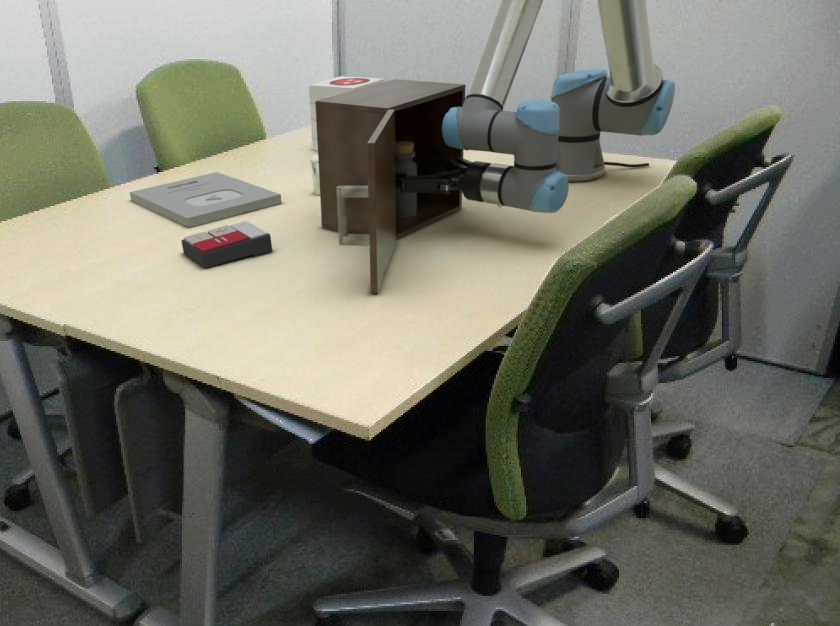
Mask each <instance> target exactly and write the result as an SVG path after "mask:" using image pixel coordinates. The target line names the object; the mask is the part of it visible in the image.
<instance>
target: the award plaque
mask: <svg viewBox="0 0 840 626" xmlns="http://www.w3.org/2000/svg"><path fill="white" fill-rule="evenodd" d="M129 197H130V201H131V202H133V203H135V204H137V205H139V206H141V207H144V208H146V209H148V210H150V211H152V212H154V213H156V214H159V215H161V216H163V217H165V218H167V219H169V220H171V221H174V222H175V223H178V224H180V225H182V226H184V227H186V228H192V227H196V226H201V225H204V224H207V223H211V222H216V221H220V220H223V219H227V218H231V217H234V216H239V215H242V214H246V213H250V212H254V211H257V210H262V209H265V208H268V207H273V206H277V205H280V204H282V194H281V193H278V192H275V191H272V190H270V189H267V188H264V187H261V186H258V185H255V184H252V183H249V182H247V181H244V180H241V179H238V178H235V177H232V176H230V175H227V174H224V173H221V172H219V171H216V172H211V173H207V174H202V175H198V176H194V177H188V178H185V179H180V180H176V181H171V182H167V183H163V184H159V185H155V186H151V187H145V188H141V189H137V190H132V191H130V192H129Z"/></svg>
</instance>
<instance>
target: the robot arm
mask: <svg viewBox="0 0 840 626" xmlns="http://www.w3.org/2000/svg"><path fill="white" fill-rule="evenodd" d="M543 2H544V0H500V2H499V5H498V8H497V11H496V14H495V16H494V19H493V21H492V24H491V28H490V30H489V33H488V35H487V38H486V40H485V43H484V46H483V49H482V52H481V55H480V58H479V61H478V63H477V66H476V69H475V71H474V74H473V77H472V79H471V82H470V85H469V87H468V91H467V93H466V95H465V101H464V103H463V106H462V107H453V108H451V109H450V110H449V111H448V113H446V115H445V117H444V119H443V123H442V136H443V140H444V142H445V143H446V144H447V145H448V146H450V147H453V148H458V149H463V150H464V151H466V152H467V151H474V152H475V151H477V152H489V153H495V154H504V155H511V156H513V165H511V164H502V163H496V162H494V163H492V162H487V161H481V160H480V161H479V160H475V161H470V160H468V159H467V158H464V157H463V158H461V157H455V160H454V159H452V158H450V159H448V160H446V159H444V158H437V157H430V156H423V155H420V156H419V169H424V170H430V171H437V172H438V174H436V175H417V176H407V174H406V172H404V173H397V172H395V187H400V192H402V193H441V194H450V190H452V191H459V190H461V191H462V196H463V197H464V198H465V199H466V200H468V201H472V202H478V203H486V204H491V205H496V206H497V207H498V208H503V207H508V208H513V209H518V210H519V209H520V210H524V211H529V212H532V213H542V214H543V213H544V214H554V213H555V214H556V213H557V212H558V211H560V210H561V209H562V208H563V207H564V205H565V203H566V202H567V198H568V195H569V191H570V189H569V188H570V185H569V183H577V182H578V183H579V182H587V181H589V182H590V181H595V180H597V179H599V178H602V177H603V176H604V175H605V169H606V166H614V167H623V168H644V167H649V166H650V162H644V163H635V164H633V163H624V162H614V161H605V160H604V155H603V150H602V148H601V142H600V141H601V140H600V139H601V132H602V133H611V134H621V135H631V136H639V137H642V136H656V135H658V134H659V133H661V132H662V130H663V129H664V127H665V126H666V123H667V121H668V118H669V116H670V113H671V111H672V107H673V103H674V98H675V93H676V84H675V81H674V80H670V79H669V78H667V79H664V78H663V72H662V69H661V67H660V66H659V65H657V64H656V63H654V60H653V54H652V53H653V52H652V46H651V45H652V44H651V36H650V35H651V34H650V28H649V18H648V11H647V4H646V2H647V1H646V0H596V2H597V8H598V13H599V19H600V25H601V31H602V35H603V36H602V37H603V42H604V48H605V53H606V60H607V65H608V71H609V74H608V72H607V69H604V68H593V69H592V68H591V69H585V70H584V69H583V70H577V71H572V72H571V71H570V72H568V73H563V74H561V75H558V76H557V77H556V78H555V79H554V81H553V83H552V89H551V95H550V100H543V99H542V100H541V99H539V100H526V101H523V102H521V103H519V104H518V106H517V108H516V111H511V110H510V111H508V110H504V107H505V105H506V102H507V99H508V96H509V94H510V92H511V89H512V87H513V84H514V81H515V78H516V75H517V72H518V70H519V67H520V65H521V61H522V59H523V56H524V55H525V50H526V48H527V47H528V46H527V45H528V43H529V39H530V37H531V34H532V32H533V30H534V27H535V23H536V22H537V18H538V15H539V13H540V10H541V7H542V5H543ZM446 169H447V171H446ZM442 176H444V179H442Z"/></svg>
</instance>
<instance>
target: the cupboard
mask: <svg viewBox="0 0 840 626" xmlns="http://www.w3.org/2000/svg"><path fill="white" fill-rule="evenodd" d="M465 98H466V83H465V84H464V83H450V82H438V81H424V80H411V79H398V78H397V79H396V78H395V79H390V80H385V82H383V83H379V84H375V85H372V86H368V87H365V88H361V89H357V90H354V91H350V92H346V93H343V94H339V95H335V96H332V97H328V98H325V99H321V100H317V101H315V105H316V124H317V143H318V151H317V155H318V162H319V181H320V195H319V197H320V215H321V216H320V217H321V229H324V230H328V231H333V232H338V233H339V231H338V208H337V186H368V160H367V143H368V141H369V139H370V138H371V136H372V135H373V133H374V131H375V130H376V128H377V127H378V125H379V124H380V122H381V120H382V119H383V117H384V116H385V114H386V113H387V111H388V110H395V142H397V141H411V142H414V147H413V151H415V157H414V158H412V161H413V162H415V163H416V164H417V175H436V174H438V172H437V171H430V170H424V169H419V156H420V155H423V156H430V157H437V158H444V159H446V160H448V159H450V158H452V159H454V160H455V157H461V158H463V159H464V151H465V150H463V149H458V148H453V147H450V146H448V145H447V144H446V143H445V142H444V140H443V136H442V123H443V119H444V117H445V115H446V113H448V111H449V110H450V109H451V108H453V107H462V106H463V103H464V101H465ZM446 171H447V169H446ZM442 179H444V176H442ZM462 209H463V193H462V191H461V190H459V191H452V190H450V194H441V193H417V214H416V215H415V216H413V217H410V218H396V241H397V240H400V239H401V238H404V237H406V236H408V235H410V234H413V233H414V232H416V231H419V230H421V229H423V228H425V227H427V226H430V225H431V224H433V223H436V222H438V221H440V220H442V219H444V218H446V217H450V216H451V215H453V214H455V213H456V212H459V211H461V210H462ZM347 223H348V234H369V200H368V198H347Z"/></svg>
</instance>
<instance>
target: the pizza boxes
mask: <svg viewBox="0 0 840 626" xmlns="http://www.w3.org/2000/svg"><path fill="white" fill-rule="evenodd" d="M383 82H386V78H378V77H363V76H362V77H361V76H346V75H345V76H343V75H340V76H337V77H333V78H329V79H326V80H322V81H318V82H316V83H312V84H309V85H308V93H309V94H308V95H309V96H308V97H309V108H310V110H309V111H310V128H311V131H310V132H311V147H312V148H311V149H312V151H316V152H318V143H317V124H316V105H315V101H317V100H321V99H325V98H328V97H332V96H335V95H339V94H343V93H346V92H350V91H354V90H357V89H361V88H365V87H368V86H372V85H375V84H379V83H383Z"/></svg>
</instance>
